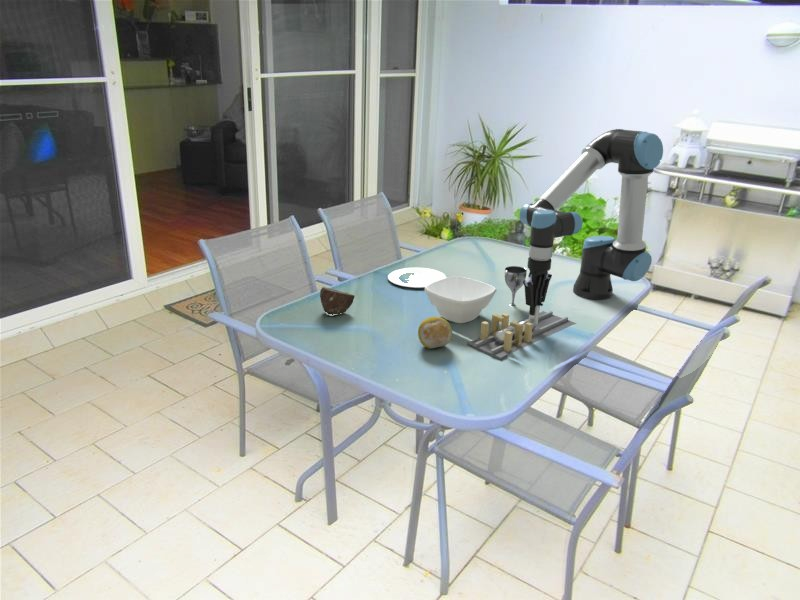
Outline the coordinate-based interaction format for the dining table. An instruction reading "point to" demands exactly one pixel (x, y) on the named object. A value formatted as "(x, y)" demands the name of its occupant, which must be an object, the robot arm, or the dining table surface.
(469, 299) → the bowl
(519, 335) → the aperture bridge
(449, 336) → the fruit
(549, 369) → the dining table surface
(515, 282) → the wine glass
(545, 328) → the guide plate
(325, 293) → the brown coconut half
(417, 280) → the plate
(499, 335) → the tube
